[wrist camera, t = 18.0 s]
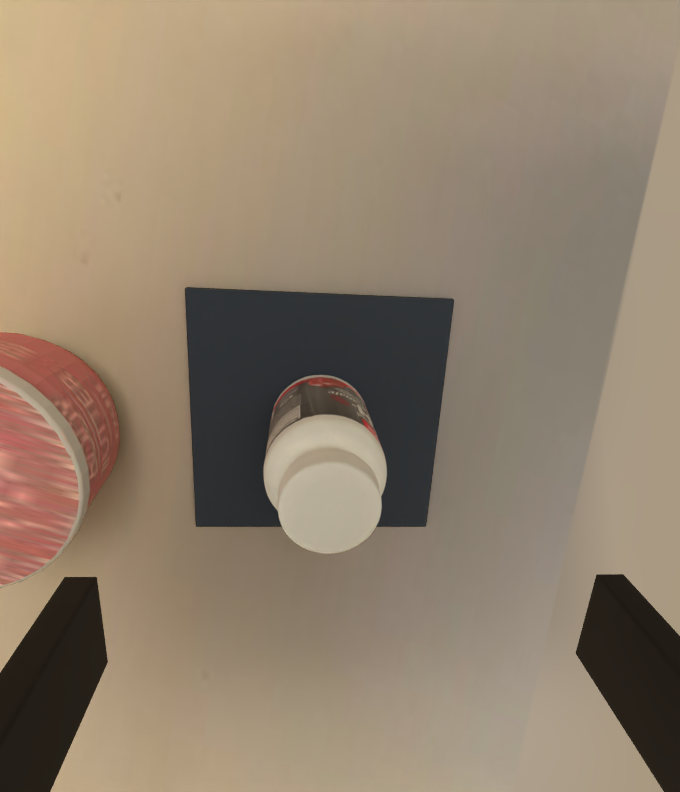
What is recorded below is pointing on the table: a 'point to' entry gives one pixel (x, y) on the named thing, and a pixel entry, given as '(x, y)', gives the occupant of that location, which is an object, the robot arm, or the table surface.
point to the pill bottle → (324, 465)
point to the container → (48, 451)
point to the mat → (300, 357)
